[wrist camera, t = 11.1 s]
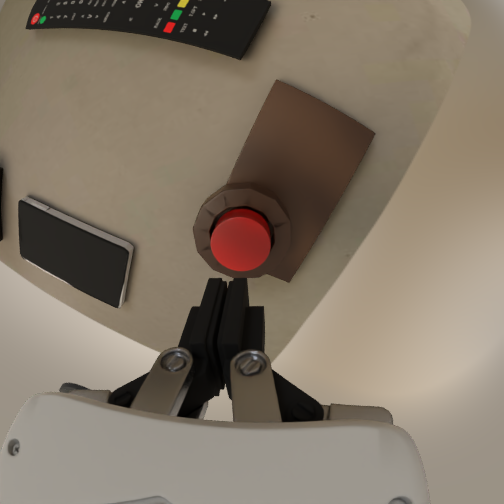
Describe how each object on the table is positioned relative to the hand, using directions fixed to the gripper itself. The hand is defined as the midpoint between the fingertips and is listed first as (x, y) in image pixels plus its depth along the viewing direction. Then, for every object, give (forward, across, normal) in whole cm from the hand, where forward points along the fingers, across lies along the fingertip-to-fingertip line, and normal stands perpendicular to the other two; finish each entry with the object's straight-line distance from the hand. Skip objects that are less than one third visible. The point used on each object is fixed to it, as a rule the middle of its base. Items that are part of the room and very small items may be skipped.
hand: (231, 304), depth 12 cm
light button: (+8, 0, 0) cm, 8 cm away
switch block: (+11, -3, -2) cm, 11 cm away
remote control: (+11, +9, -20) cm, 25 cm away
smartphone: (+11, +19, +2) cm, 22 cm away
